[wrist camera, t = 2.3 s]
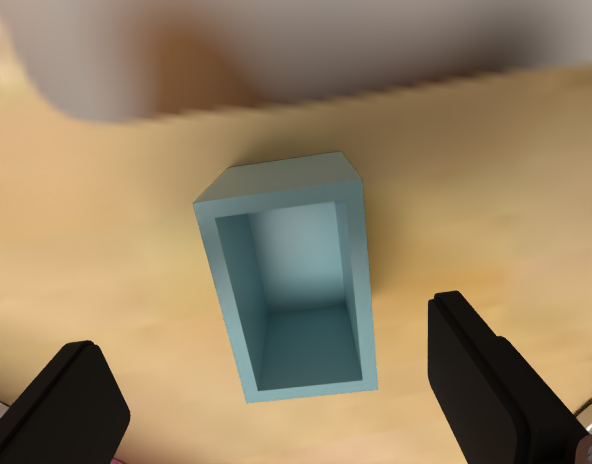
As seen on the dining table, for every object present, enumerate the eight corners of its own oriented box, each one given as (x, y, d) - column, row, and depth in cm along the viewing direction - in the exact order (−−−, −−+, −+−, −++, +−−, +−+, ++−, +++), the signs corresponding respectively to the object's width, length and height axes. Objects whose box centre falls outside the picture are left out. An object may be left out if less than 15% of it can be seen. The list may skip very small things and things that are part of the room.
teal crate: (341, 151, 16) (362, 179, 11) (356, 306, 20) (378, 389, 14) (228, 167, 17) (192, 203, 11) (261, 317, 20) (246, 403, 14)
